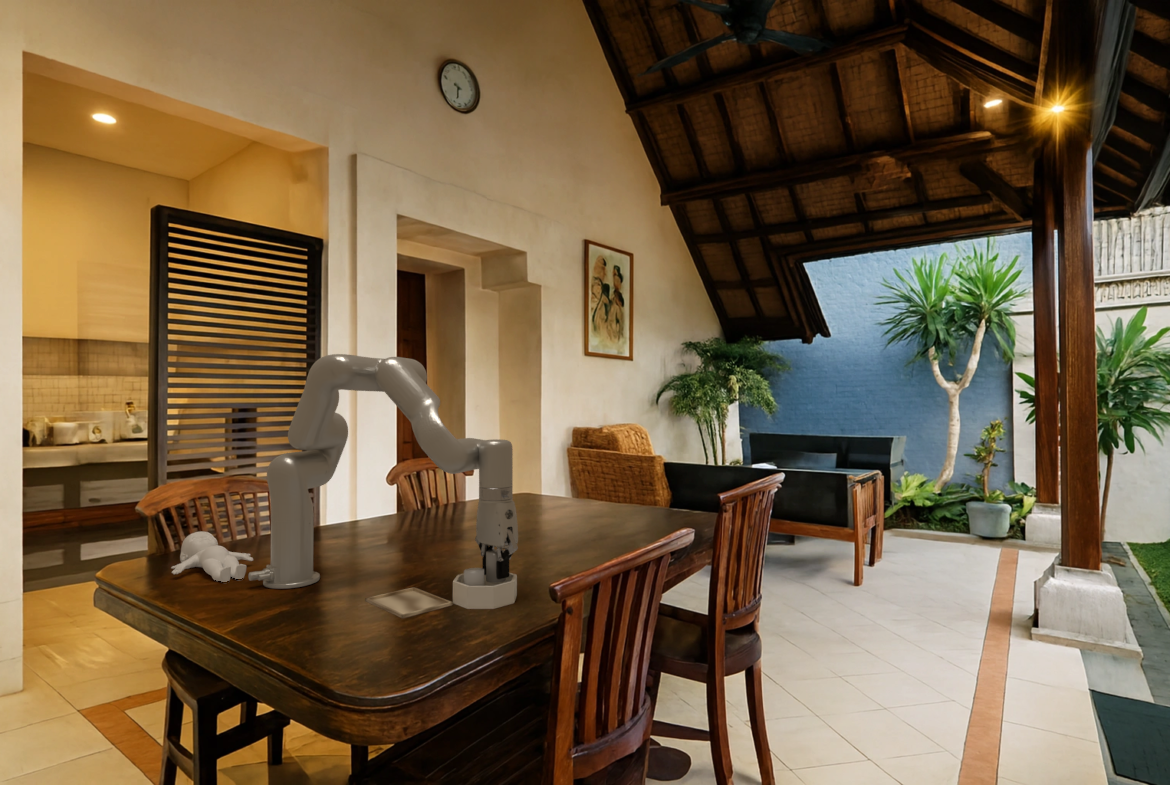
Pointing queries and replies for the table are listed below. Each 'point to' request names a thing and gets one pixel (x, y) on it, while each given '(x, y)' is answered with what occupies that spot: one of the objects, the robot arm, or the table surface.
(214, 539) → the doll
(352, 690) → the table surface
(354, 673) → the table surface
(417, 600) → the tray
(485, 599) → the bowl
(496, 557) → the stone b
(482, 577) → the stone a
